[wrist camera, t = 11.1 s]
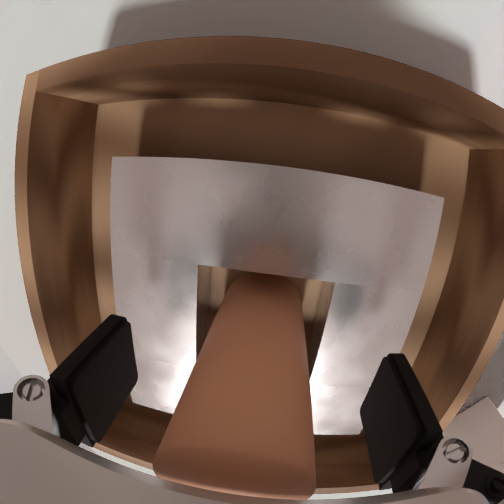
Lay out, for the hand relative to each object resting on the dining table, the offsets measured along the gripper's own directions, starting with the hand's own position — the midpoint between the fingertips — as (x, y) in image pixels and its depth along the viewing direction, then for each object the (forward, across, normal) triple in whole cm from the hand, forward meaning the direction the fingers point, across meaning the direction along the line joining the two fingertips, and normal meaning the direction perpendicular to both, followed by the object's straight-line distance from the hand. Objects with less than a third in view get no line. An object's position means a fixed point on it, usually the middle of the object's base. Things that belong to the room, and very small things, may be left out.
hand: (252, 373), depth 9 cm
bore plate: (+5, 0, 0) cm, 5 cm away
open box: (+6, 0, 0) cm, 6 cm away
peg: (+5, 0, 0) cm, 5 cm away
